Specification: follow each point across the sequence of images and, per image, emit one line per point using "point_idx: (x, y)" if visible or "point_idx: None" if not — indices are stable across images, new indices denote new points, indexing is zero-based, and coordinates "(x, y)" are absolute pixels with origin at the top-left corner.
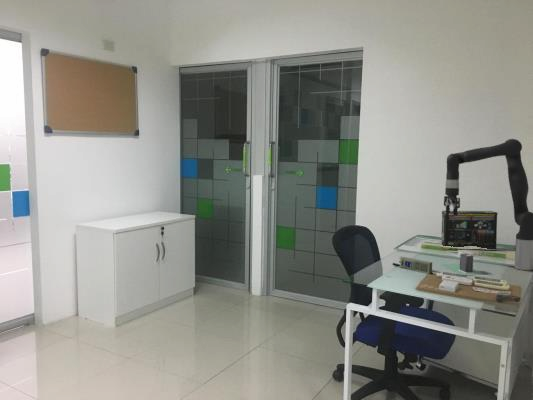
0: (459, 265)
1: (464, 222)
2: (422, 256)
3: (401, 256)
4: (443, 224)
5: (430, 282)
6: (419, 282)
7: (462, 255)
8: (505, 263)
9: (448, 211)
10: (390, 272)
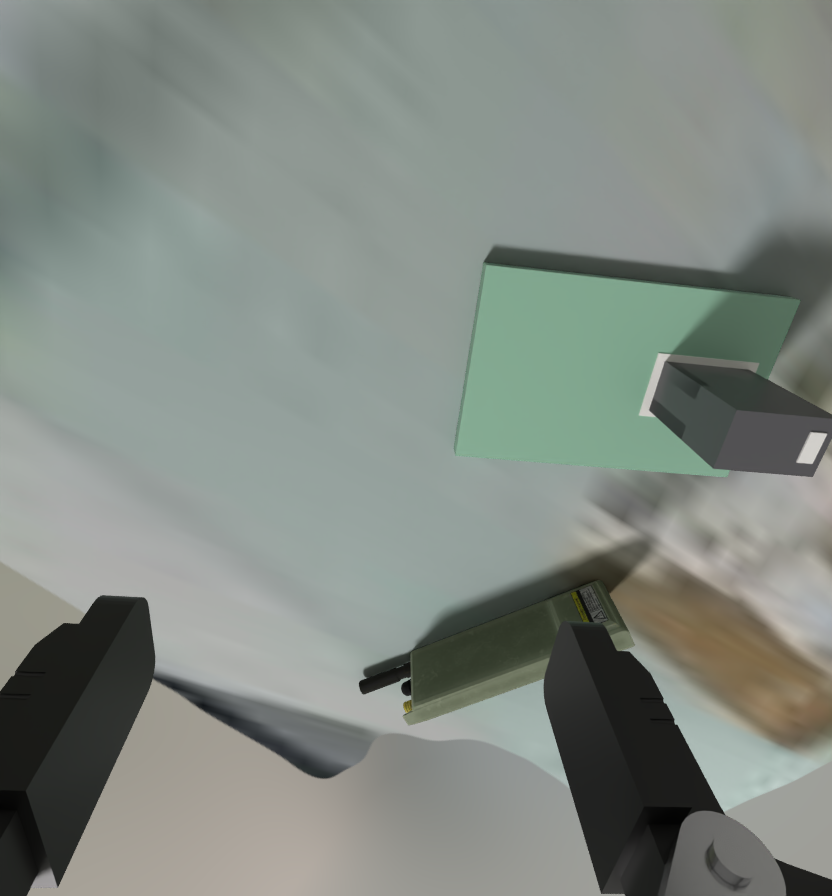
0: (530, 320)
1: None
2: (63, 371)
3: (408, 714)
4: None
5: (742, 663)
6: (717, 701)
7: (744, 467)
8: None
9: (122, 672)
10: (502, 736)
